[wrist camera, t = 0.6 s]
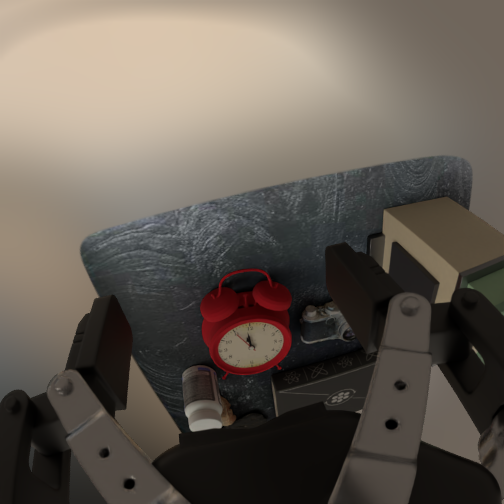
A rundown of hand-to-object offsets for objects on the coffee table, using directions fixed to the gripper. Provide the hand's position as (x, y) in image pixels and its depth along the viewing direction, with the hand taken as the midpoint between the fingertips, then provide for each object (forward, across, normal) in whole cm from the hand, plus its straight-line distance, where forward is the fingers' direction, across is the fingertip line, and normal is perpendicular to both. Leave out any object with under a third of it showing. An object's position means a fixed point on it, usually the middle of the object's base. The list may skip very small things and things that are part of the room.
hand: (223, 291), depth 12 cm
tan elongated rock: (+20, +6, +36) cm, 42 cm away
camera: (+20, -12, +21) cm, 31 cm away
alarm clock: (+19, -1, +18) cm, 26 cm away
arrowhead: (+20, -1, +42) cm, 46 cm away
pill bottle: (+20, +6, +27) cm, 34 cm away
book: (+20, -14, +38) cm, 45 cm away
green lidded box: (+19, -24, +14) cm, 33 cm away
